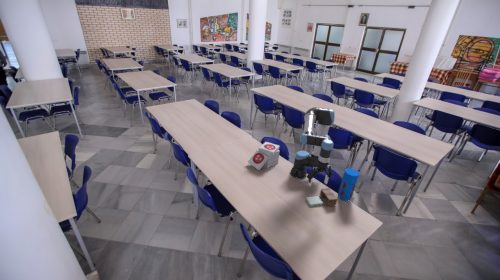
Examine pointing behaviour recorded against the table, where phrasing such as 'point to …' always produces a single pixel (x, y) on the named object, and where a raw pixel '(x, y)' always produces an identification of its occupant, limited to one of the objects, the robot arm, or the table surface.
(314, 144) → the robot arm
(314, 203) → the board
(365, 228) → the table surface
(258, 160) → the pizza boxes
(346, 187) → the thermos
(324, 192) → the tan notched block
